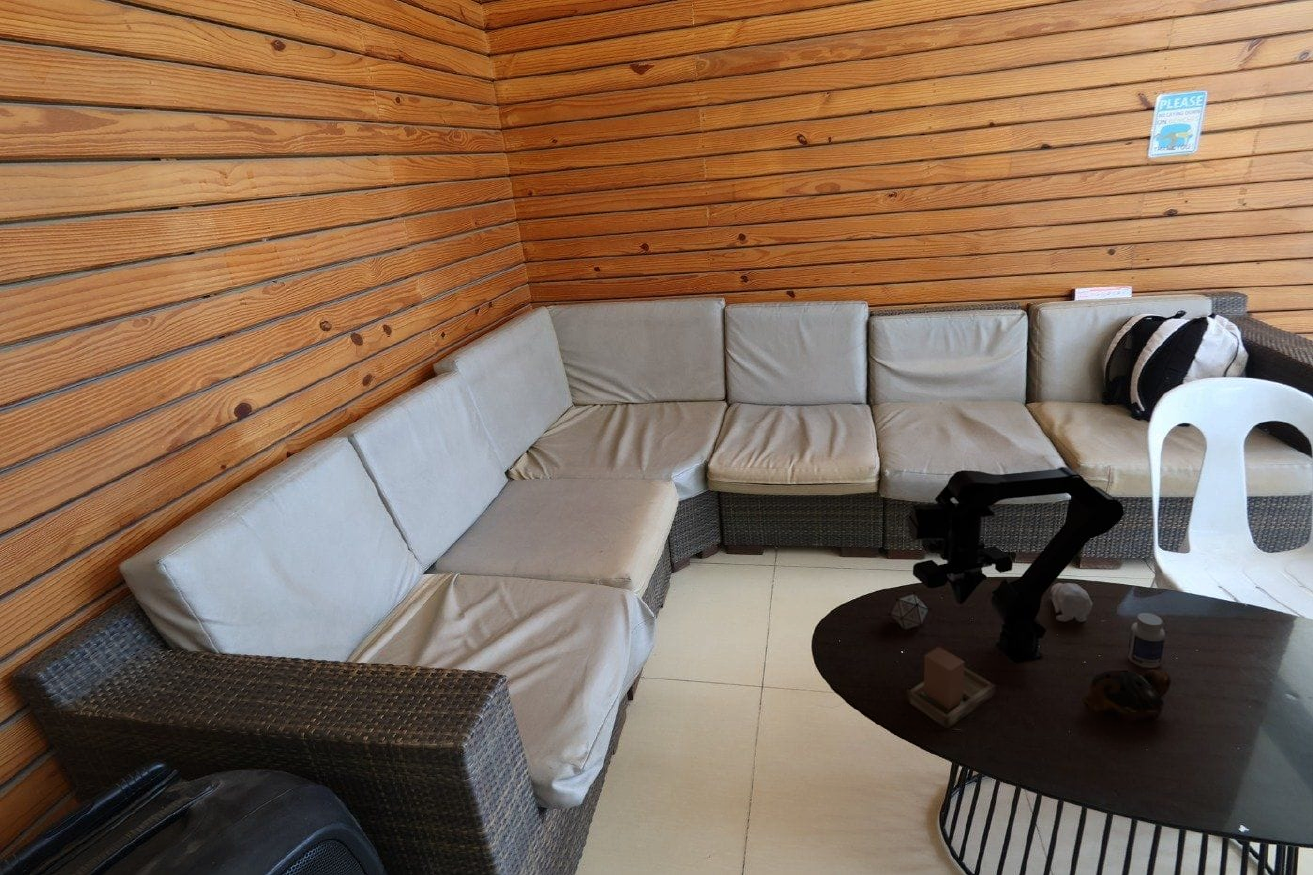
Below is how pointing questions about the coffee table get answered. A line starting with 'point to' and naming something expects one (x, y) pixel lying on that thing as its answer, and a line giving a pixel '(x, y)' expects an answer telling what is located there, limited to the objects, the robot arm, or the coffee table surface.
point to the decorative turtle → (1128, 694)
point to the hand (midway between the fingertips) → (960, 602)
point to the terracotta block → (943, 677)
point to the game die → (909, 611)
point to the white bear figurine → (1071, 601)
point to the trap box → (973, 696)
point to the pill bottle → (1146, 641)
